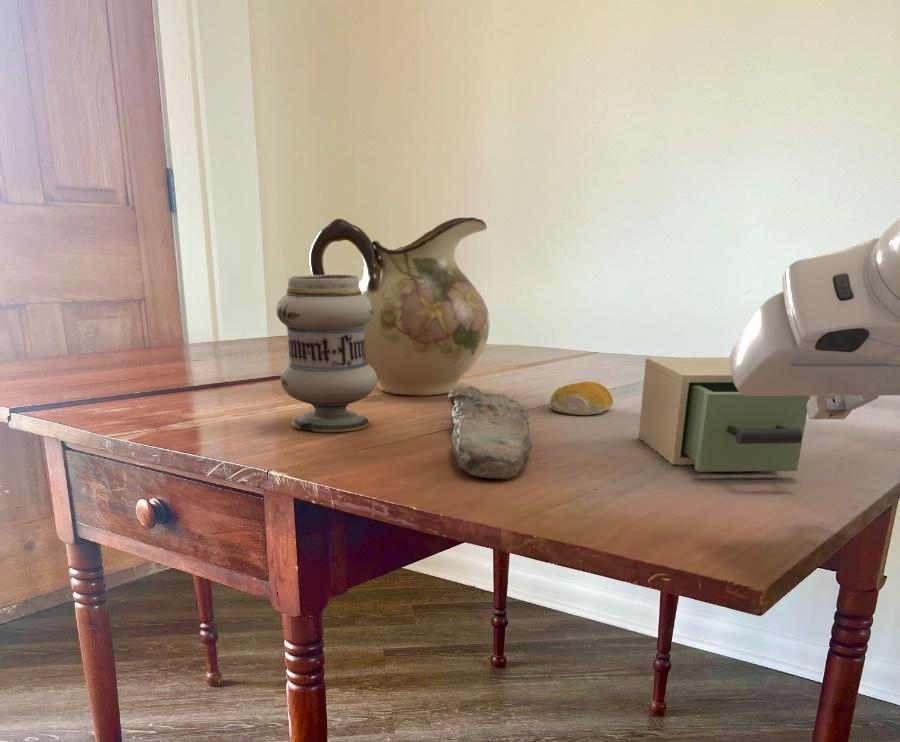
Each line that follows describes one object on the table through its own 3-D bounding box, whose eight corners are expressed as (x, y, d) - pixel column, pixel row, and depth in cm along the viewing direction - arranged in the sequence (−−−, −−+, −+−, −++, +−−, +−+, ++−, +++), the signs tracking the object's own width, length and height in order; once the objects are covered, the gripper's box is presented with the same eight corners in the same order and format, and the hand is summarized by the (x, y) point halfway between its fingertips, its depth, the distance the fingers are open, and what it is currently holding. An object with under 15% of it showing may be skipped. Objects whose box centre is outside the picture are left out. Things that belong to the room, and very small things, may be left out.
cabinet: (776, 464, 95) (790, 374, 91) (672, 465, 94) (682, 375, 90) (730, 437, 107) (741, 357, 103) (638, 437, 106) (645, 357, 103)
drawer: (816, 481, 85) (830, 401, 82) (712, 482, 84) (723, 401, 81) (749, 443, 100) (759, 374, 97) (661, 443, 99) (669, 374, 96)
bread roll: (618, 407, 124) (620, 379, 123) (597, 418, 117) (600, 388, 116) (564, 402, 128) (565, 374, 126) (540, 412, 121) (542, 382, 119)
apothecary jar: (264, 428, 109) (252, 276, 102) (317, 412, 119) (310, 272, 112) (346, 438, 104) (340, 279, 97) (394, 420, 114) (392, 275, 107)
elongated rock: (439, 493, 87) (537, 500, 87) (442, 442, 85) (543, 449, 85) (448, 409, 119) (520, 414, 119) (450, 369, 116) (524, 375, 116)
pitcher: (516, 390, 137) (523, 217, 127) (409, 409, 121) (407, 214, 112) (417, 374, 151) (417, 218, 141) (310, 389, 135) (301, 215, 126)
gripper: (1043, 264, 62) (932, 381, 75) (767, 262, 61) (702, 381, 73) (1070, 335, 60) (951, 443, 73) (784, 335, 58) (714, 445, 71)
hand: (824, 412), depth 73 cm, fingers closed
